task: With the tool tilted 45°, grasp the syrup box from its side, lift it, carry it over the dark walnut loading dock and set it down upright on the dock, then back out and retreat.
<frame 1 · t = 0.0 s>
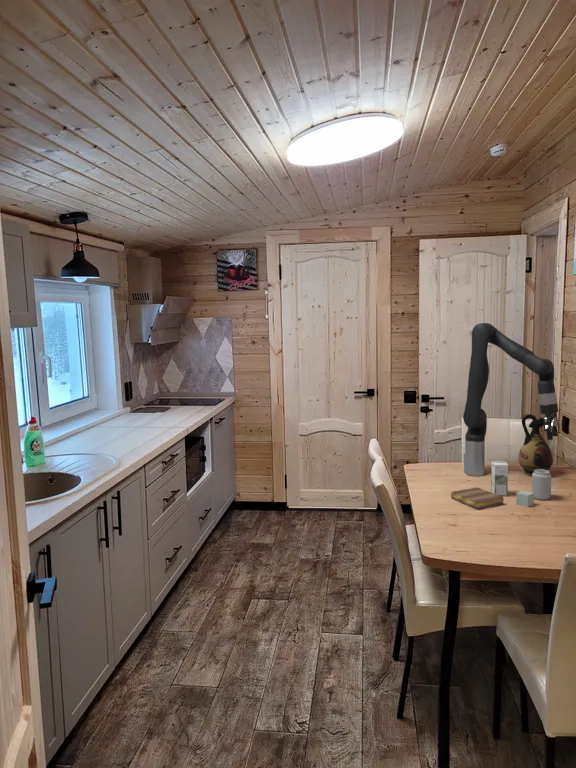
hand: (552, 437, 253), 22 cm above the table, tool pointing down, fingers open, 8 cm apart
can: (541, 498, 239), on the table
syrup box: (499, 494, 246), on the table
ceramic jug: (533, 474, 274), on the table
dock: (476, 501, 238), on the table
pale green cube: (525, 504, 232), on the table
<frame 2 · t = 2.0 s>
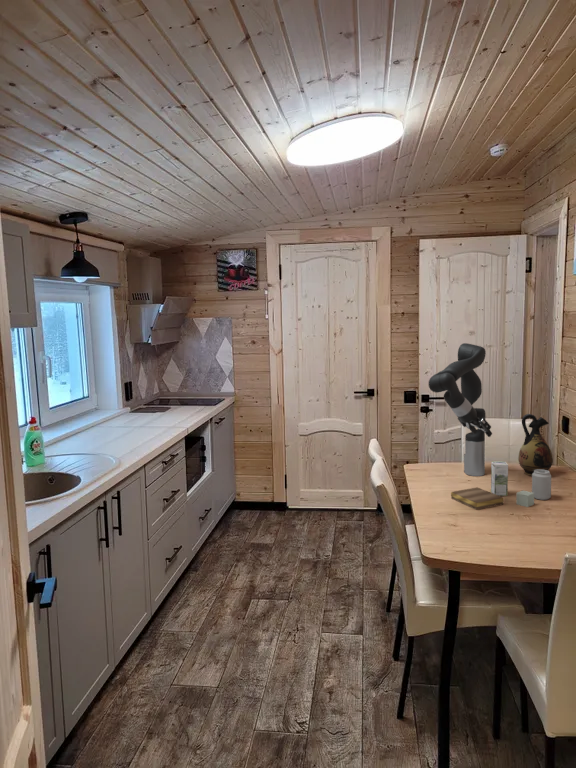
hand: (482, 433, 237), 29 cm above the table, tool tilted 45°, fingers open, 8 cm apart
nothing on the table moved.
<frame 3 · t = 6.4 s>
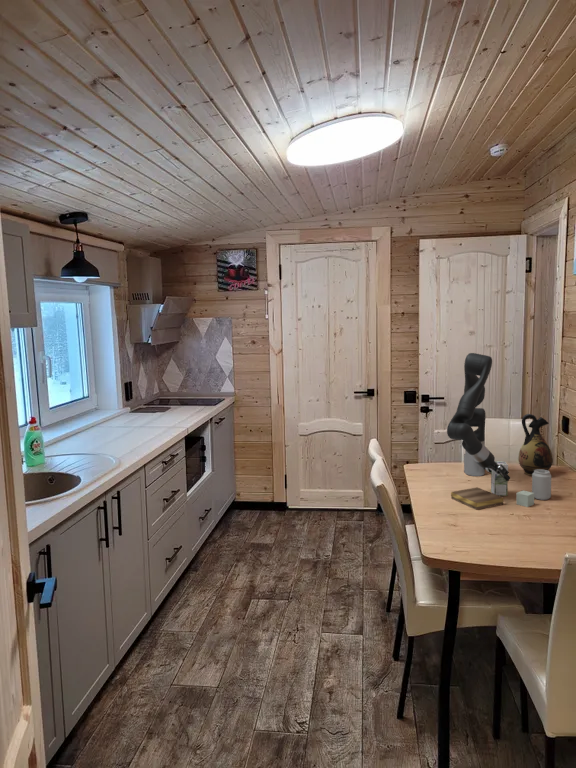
hand: (501, 477, 246), 8 cm above the table, tool tilted 45°, fingers closed on syrup box, 7 cm apart
syrup box: (499, 494, 246), on the table, touching gripper
everything else where it was.
when the fingers open (12 cm above the table, at t = 11.2 s): syrup box drops 1 cm, resting on dock.
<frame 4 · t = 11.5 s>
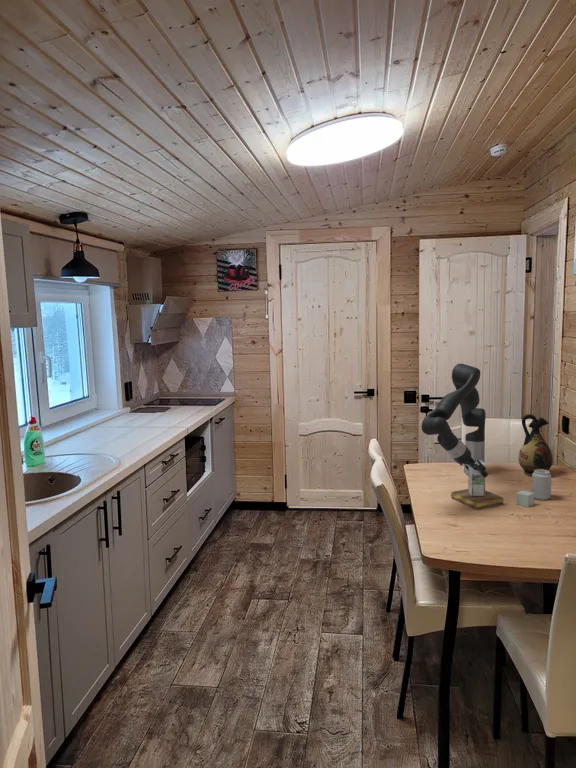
hand: (479, 473, 237), 12 cm above the table, tool tilted 45°, fingers open, 8 cm apart
syrup box: (476, 495, 237), point 3 cm above the table, touching dock
everything else where it was.
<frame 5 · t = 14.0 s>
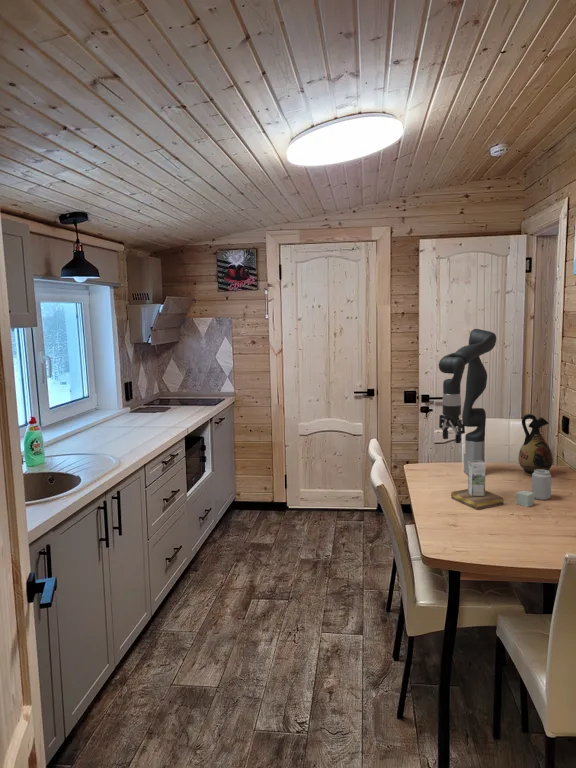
hand: (451, 440, 238), 26 cm above the table, tool pointing down, fingers open, 8 cm apart
nothing on the table moved.
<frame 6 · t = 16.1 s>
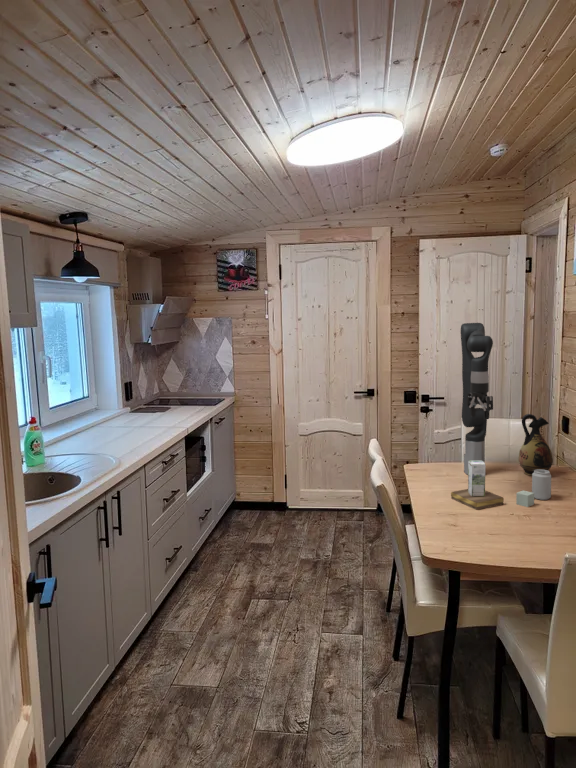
hand: (479, 417, 245), 34 cm above the table, tool pointing down, fingers open, 8 cm apart
nothing on the table moved.
at the end: syrup box inside the target area on the dock (0.2 cm from its centre), point 2.8 cm above the dock's base; syrup box tilted 0°; the gripper is holding nothing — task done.
